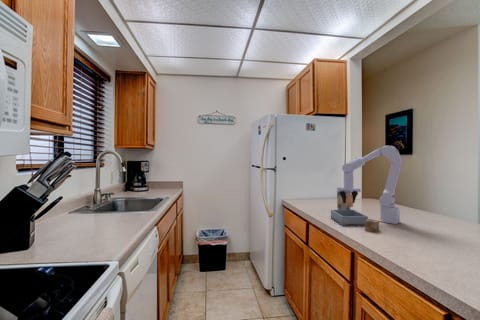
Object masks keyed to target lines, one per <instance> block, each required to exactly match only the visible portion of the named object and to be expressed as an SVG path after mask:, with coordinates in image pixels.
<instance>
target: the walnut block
mask: <svg viewBox="0 0 480 320" xmlns="http://www.w3.org/2000/svg"><path fill="white" fill-rule="evenodd" d="M364 231H367V232H372V233H377V232H379V231H380V221H378V220H376V219H372V218H371V219H370V218H368V220H365V226H364Z"/></svg>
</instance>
